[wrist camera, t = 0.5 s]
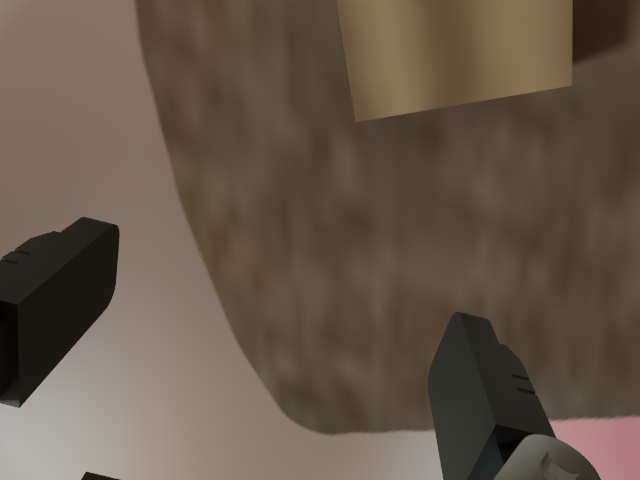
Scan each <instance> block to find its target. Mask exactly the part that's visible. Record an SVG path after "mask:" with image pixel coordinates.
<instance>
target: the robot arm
mask: <svg viewBox="0 0 640 480" xmlns="http://www.w3.org/2000/svg"><path fill="white" fill-rule="evenodd" d="M118 248H119V228H118V226H117V225H115V224H111V223H107V222H103V221H99V220H95V219H91V218H87V217H82V218H80V219H78V220H77V221H76V222H74V223H73V224H72V225H70V226H69V227H67V228H66V229H65V230H63V231H62V232H60V233H59V232H55V231H53V232H50V233H47V234H43V235H40V236H37V237H34V238H31V239H29V240H28V241H26V242H25V243H23V244H22V245H20V246H19V247H17V248H16V249H15V251H14V252H10V253H9V254H7V255H5V256H4V257H2V258H1V261H0V403H2V404H6V405H10V406H14V407H18V408H19V407H21V406H22V404H23V403H24V402H25V401H26V400H27V399H28V397H29V396H30V395H31V394H32V393H33V392H34V391H35V390H36V388H37V387H38V386H39V385H40V384H41V383H42V382H43V380H44V379H45V378H46V377H47V376H48V375H49V373H50V372H51V371H52V370H53V369H54V368H55V367H56V366H57V364H58V363H59V362H60V361H61V360H62V359H63V358H64V356H65V355H66V354H67V353H68V351H70V349H71V348H72V347H73V346H74V345H75V344H76V342H77V341H78V340H79V339H80V338H81V337H82V336H83V334H84V333H85V332H86V331H87V330H88V329H89V328H90V327H91V325H92V324H93V323H94V322H95V321H96V320H97V319H98V317H99V316H100V315H101V314H102V313H103V311H104V310H105V309H106V308H107V307H108V305H109V303H110V301H111V299H112V296H113V293H114V290H115V285H116V273H117V261H118ZM428 393H429V398H430V404H431V410H432V416H433V421H434V427H435V433H436V439H437V444H438V450H439V456H440V462H441V468H442V473H443V479H444V480H601V479H600V477H599V475H598V473H597V472H596V470H595V468H594V467H593V466H592V465H591V463H590V462H589V461H588V460H587V459H586V458H585V457H584V456H583V455H581V454H580V453H579V452H578V451H576V450H575V449H574V448H572V447H571V446H569V445H568V444H566V443H564V442H562V441H560V440H558V439H557V438H556V436H555V434H554V432H553V429H552V427H551V425H550V423H549V421H548V419H547V416H546V414H545V412H544V410H543V408H542V405H541V403H540V401H539V399H538V397H537V396H536V395H535V390H534V388H533V386H532V383H531V382H530V381H529V377H528V375H527V373H526V370H525V368H524V366H523V364H522V362H521V361H520V360H519V359H518V357H517V356H516V355H515V354H514V353H513V352H512V351H511V350H510V349H509V348H508V347H507V346H506V345H502V344H499V342H498V340H497V337H496V335H495V332H494V330H493V328H492V325H491V323H490V321H489V320H488V319H485V318H481V317H477V316H473V315H469V314H465V313H461V312H455V313H454V314H453V315H452V317H451V319H450V321H449V323H448V326H447V328H446V331H445V333H444V335H443V338H442V340H441V342H440V345H439V347H438V349H437V352H436V354H435V357H434V359H433V361H432V364H431V367H430V371H429V376H428ZM82 480H119V479H114V478H110V477H106V476H102V475H98V474H94V473H89V472H86V473H85V474H84V476H83V478H82Z"/></svg>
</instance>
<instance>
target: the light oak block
mask: <svg viewBox="0 0 640 480" xmlns="http://www.w3.org/2000/svg"><path fill="white" fill-rule="evenodd" d="M336 2H337V9H338V15H339V21H340V27H341V34H342V40H343V46H344V52H345V58H346V65H347V71H348V77H349V83H350V89H351V96H352V102H353V108H354V114H355V121H356V122H360V121H365V120H371V119H377V118H383V117H389V116H395V115H401V114H407V113H413V112H419V111H424V110H430V109H436V108H442V107H448V106H454V105H460V104H466V103H472V102H477V101H483V100H489V99H495V98H501V97H507V96H513V95H519V94H525V93H530V92H536V91H542V90H548V89H554V88H560V87H566V86H572V12H573V0H336Z"/></svg>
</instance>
